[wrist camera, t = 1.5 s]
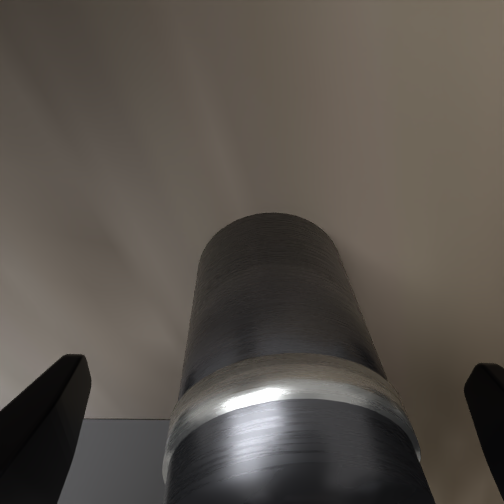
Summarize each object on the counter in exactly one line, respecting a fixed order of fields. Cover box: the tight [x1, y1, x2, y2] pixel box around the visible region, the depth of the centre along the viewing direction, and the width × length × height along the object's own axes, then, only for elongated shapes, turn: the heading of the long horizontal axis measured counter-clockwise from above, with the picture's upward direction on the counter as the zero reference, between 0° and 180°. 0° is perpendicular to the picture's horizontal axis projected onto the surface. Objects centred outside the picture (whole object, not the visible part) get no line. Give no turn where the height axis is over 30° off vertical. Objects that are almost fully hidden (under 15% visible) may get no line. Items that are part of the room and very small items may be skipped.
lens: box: [162, 213, 436, 504], centre depth 9 cm, size 5×5×7 cm
